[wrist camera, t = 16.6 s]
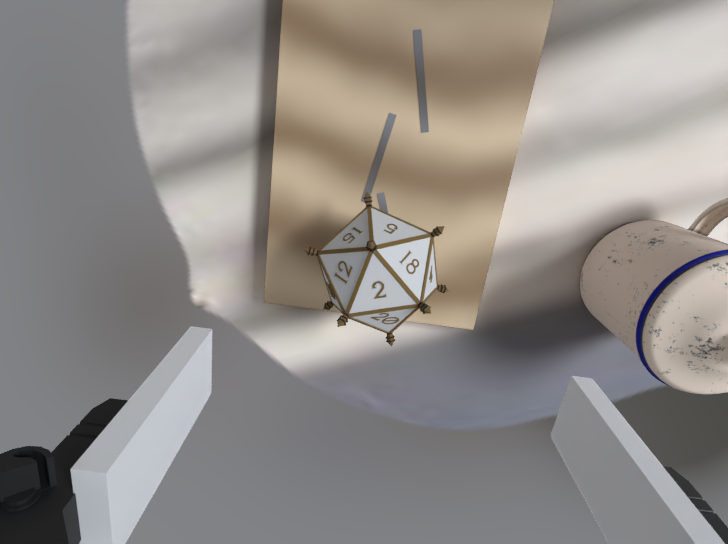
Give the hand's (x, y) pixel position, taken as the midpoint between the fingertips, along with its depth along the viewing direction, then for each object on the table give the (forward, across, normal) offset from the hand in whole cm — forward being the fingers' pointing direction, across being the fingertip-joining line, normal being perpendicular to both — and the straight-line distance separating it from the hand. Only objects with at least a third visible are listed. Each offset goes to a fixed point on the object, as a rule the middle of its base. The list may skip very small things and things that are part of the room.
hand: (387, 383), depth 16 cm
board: (+18, 0, +6) cm, 19 cm away
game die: (+17, 0, 0) cm, 17 cm away
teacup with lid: (+18, +20, +2) cm, 27 cm away
